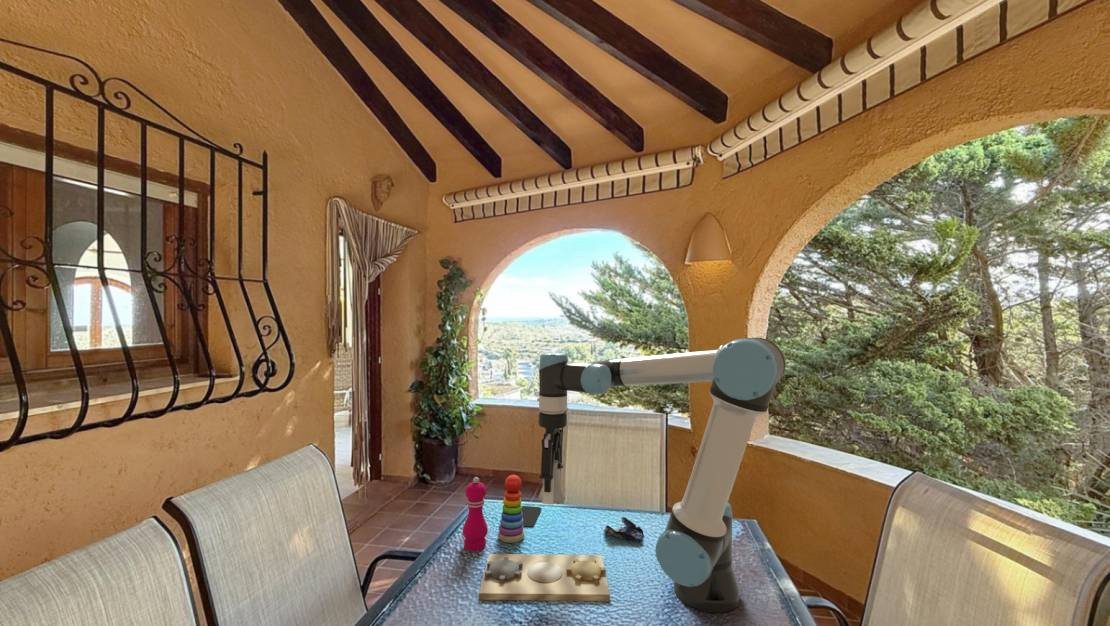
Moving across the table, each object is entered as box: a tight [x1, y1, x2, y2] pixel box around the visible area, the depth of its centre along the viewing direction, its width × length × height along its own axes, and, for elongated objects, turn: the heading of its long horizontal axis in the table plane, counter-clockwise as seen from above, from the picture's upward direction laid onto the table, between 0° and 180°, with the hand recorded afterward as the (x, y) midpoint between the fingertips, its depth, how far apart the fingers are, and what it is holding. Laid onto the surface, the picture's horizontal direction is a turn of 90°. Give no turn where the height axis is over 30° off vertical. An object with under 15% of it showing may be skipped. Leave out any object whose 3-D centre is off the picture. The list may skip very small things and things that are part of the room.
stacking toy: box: [497, 474, 525, 544], centre depth 138 cm, size 8×8×19 cm
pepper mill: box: [462, 476, 489, 552], centre depth 133 cm, size 7×7×20 cm
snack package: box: [603, 516, 644, 543], centre depth 140 cm, size 12×6×12 cm
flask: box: [537, 460, 566, 504], centre depth 121 cm, size 7×7×10 cm
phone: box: [522, 505, 542, 529], centre depth 153 cm, size 7×1×15 cm
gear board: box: [478, 553, 611, 602], centre depth 116 cm, size 31×18×3 cm, turn 90°
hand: (551, 497), depth 121 cm, fingers closed on flask, 7 cm apart
